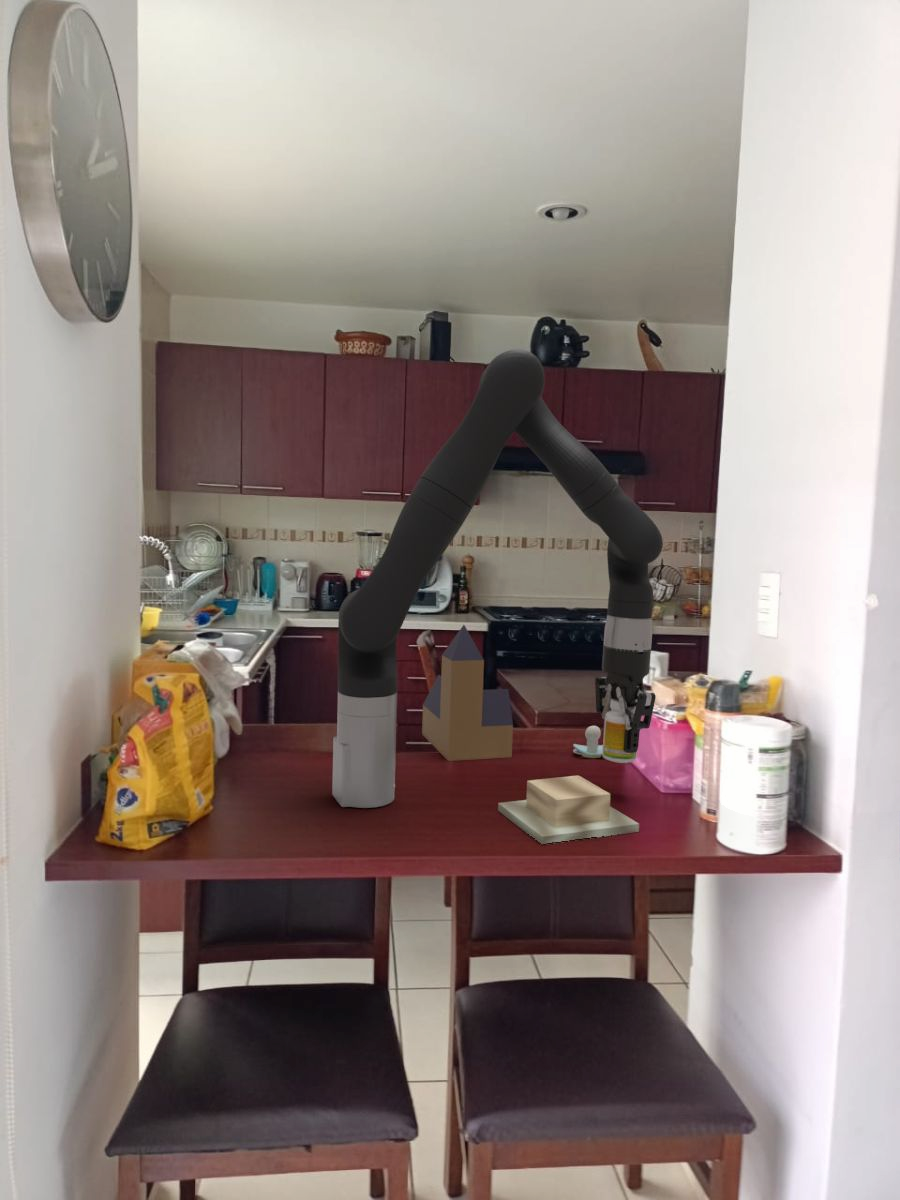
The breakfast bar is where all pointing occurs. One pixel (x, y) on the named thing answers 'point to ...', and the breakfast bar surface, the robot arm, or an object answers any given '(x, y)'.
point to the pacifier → (590, 744)
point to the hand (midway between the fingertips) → (619, 746)
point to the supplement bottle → (616, 735)
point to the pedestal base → (568, 831)
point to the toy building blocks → (467, 707)
